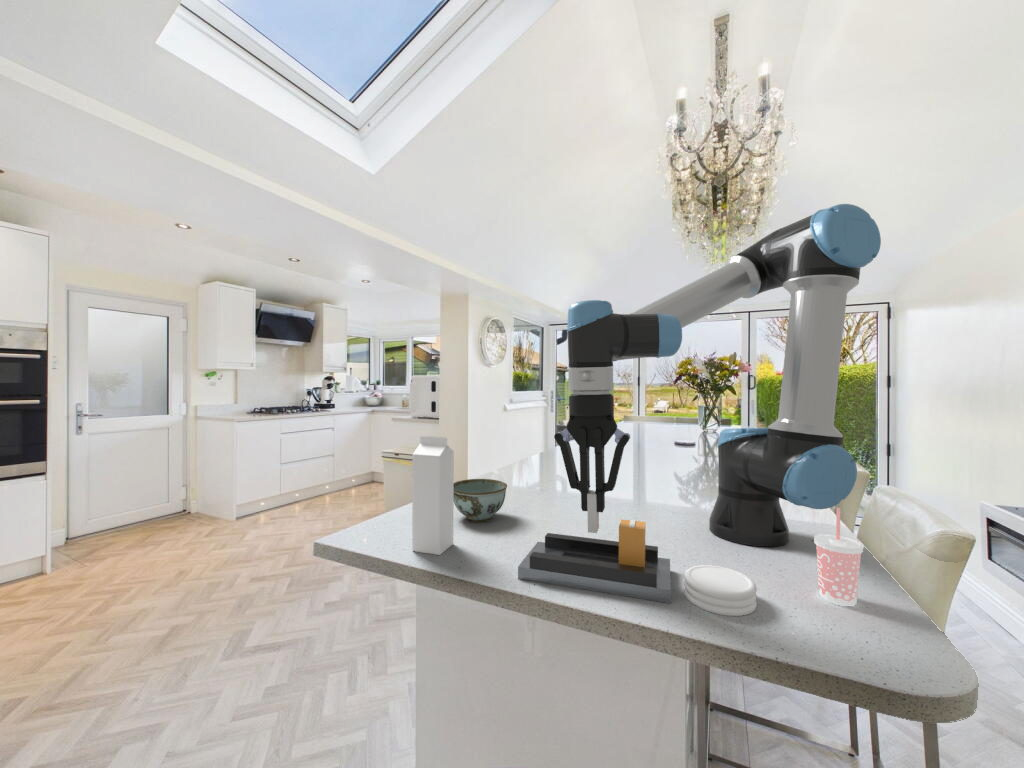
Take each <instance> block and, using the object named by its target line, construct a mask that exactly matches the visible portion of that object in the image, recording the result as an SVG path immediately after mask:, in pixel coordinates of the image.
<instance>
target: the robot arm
mask: <svg viewBox="0 0 1024 768" xmlns="http://www.w3.org/2000/svg"><path fill="white" fill-rule="evenodd" d="M881 240H882V239H881V233H880V229H879V227H878V224H877V222H876V221H875V219H874V218H872V216H871V215H870V214H869V213H868V211H866V210H864V208H862V207H860V206H857V205H855V204H850V203H839V204H836V205H833V206H830V207H828V208H823V209H822V208H821V209H818V211H815V212H814V213H813V214H811V215H809V216H807V217H805V218H801V219H800V220H798V221H795V222H792V223H791V224H788V225H786V226H783V227H781V228H778V229H776V230H775V231H772V232H771V233H768V234H767V235H766V236H764V237H763V238H761V239H760V240H758V241H757V242H755V243H753V244H752V245H750V246H749V247H747V248H745V249H744V250H743V251H740V252H739V253H737V254H735V255H733V256H730V258H728V259H727V260H726V262H725V265H724V266H721V267H720V268H718V269H716V270H714V271H712V272H710V273H708V274H706V275H704V276H702V277H700V278H698V279H696V280H694V281H693V282H690V283H688V284H685V285H684V286H682V287H681V288H679V289H677V290H674V291H673V292H671V293H669V294H667V295H664V296H662V297H660V298H659V299H657V300H654V301H653V302H651V303H649V304H647V305H645V306H643V307H640V308H639V309H637V310H635V311H633V312H632V313H631V312H630V313H629V314H628V313H627V314H623V313H622V314H620V313H615V312H614V310H613V307H612V306H613V305H612V303H611V302H610V301H608V300H601V299H591V300H590V299H589V300H582V301H581V300H580V301H576V302H574V303H572V304H570V306H569V307H568V309H567V310H568V311H567V325H566V326H567V328H566V332H567V353H568V355H567V356H568V369H567V370H568V375H567V376H568V390H569V391H570V392H571V394H570V395H569V396H568V411H569V412H568V414H569V415H568V416H569V417H568V421H567V423H566V428H564V429H563V430H561V431H558V432H557V433H555V434H554V437H553V438H554V440H555V441H556V443H557V444H558V446H559V448H560V452H561V456H562V460H563V464H564V468H565V471H566V475H567V478H568V483H569V486H570V489H574V490H577V491H579V492H580V501H581V502H580V506H581V507H580V508H581V510H582V511H583V512H587V533H591V534H598V531H599V529H600V514H599V513H603V512H604V510H605V507H606V505H605V504H606V499H605V498H606V497H605V496H606V495H605V494H606V493H607V492H612V491H614V489H615V487H616V483H617V479H618V475H619V470H620V467H621V463H622V458H623V454H624V448H625V447H626V445H627V443H628V442H629V440H630V439H631V434H630V433H627V432H624V431H622V430H621V429H619V428H618V424H617V422H616V420H615V414H614V413H615V412H614V410H615V409H614V408H615V405H614V404H615V403H614V402H615V401H614V395H613V394H612V393H611V391H613V390H614V362H617V361H624V360H632V359H643V358H656V359H660V358H666V357H667V358H668V357H672V356H675V355H676V353H678V351H679V349H680V347H681V345H682V342H683V328H685V327H687V326H689V325H690V324H692V323H695V322H697V321H698V320H700V319H702V318H704V317H707V316H708V315H710V314H712V313H714V312H716V311H719V310H720V309H723V308H724V307H725V306H727V305H730V304H731V303H734V302H735V301H737V300H739V299H742V298H743V299H751V298H753V297H755V296H757V295H759V294H761V293H764V292H767V291H770V290H774V289H778V288H784V290H786V291H787V292H788V293H789V294H790V301H789V311H788V320H787V328H786V329H787V330H786V340H785V350H784V359H783V368H782V369H783V370H782V378H781V386H780V387H781V388H780V395H779V398H780V399H779V407H778V415H777V419H776V420H775V421H774V422H772V423H771V424H769V425H768V426H767V427H744V428H739V427H738V428H736V427H735V428H724V429H722V430H720V432H719V436H718V444H717V448H718V471H717V472H718V483H717V484H718V486H717V487H718V489H717V490H718V491H717V492H718V494H717V497H716V501H715V503H714V506H713V508H712V511H711V513H710V517H709V519H708V520H709V526H708V527H709V531H710V532H711V533H712V534H713V535H715V536H717V537H719V538H722V539H723V540H727V541H729V542H732V543H733V542H734V543H738V544H743V545H747V546H748V545H749V546H755V547H779V546H783V544H784V545H786V544H788V543H787V542H789V541H790V533H789V532H790V530H789V529H790V528H789V526H788V524H787V521H786V518H785V514H784V512H783V509H782V506H781V503H780V499H781V500H784V501H787V502H789V503H791V504H793V505H795V506H799V507H800V506H801V507H802V506H803V507H805V508H809V509H811V510H825V509H830V508H834V507H836V506H837V505H839V504H840V503H841V502H842V500H843V501H844V500H845V499H847V497H848V496H849V495H850V494H851V493H852V491H853V488H854V487H855V485H856V482H857V476H858V468H857V463H856V461H855V460H854V459H853V455H852V454H851V453H850V452H849V451H848V450H846V448H844V447H843V440H844V435H843V433H841V431H839V429H837V428H836V426H835V413H836V403H837V396H838V395H837V394H838V384H839V374H840V365H841V357H842V354H841V353H842V347H843V346H842V345H843V337H844V327H845V318H846V317H845V316H846V305H847V299H848V298H847V297H848V293H849V292H850V291H851V290H853V289H855V288H856V287H857V286H858V285H859V284H860V275H861V269H862V268H864V267H866V266H867V265H868V264H870V263H872V262H873V261H874V259H876V258H877V256H878V254H879V253H880V250H881V244H882V241H881ZM613 436H615V438H614V442H615V444H616V446H615V447H614V452H613V457H612V463H611V466H610V470H609V474H608V479H607V482H606V479H605V477H606V475H605V474H606V473H605V469H606V468H605V446H606V445H607V444H608V443H609V441H610V440H611V438H612V437H613ZM571 437H572V438H573V440H574V441H575V442H576V444H577V445H578V452H579V474H578V470H577V467H576V463H575V460H574V455H573V451H572V448H571V444H570V443H571V442H570V439H571ZM590 448H594V449H593V450H594V451H593V453H594V463H595V464H594V466H595V467H594V468H595V469H594V470H595V473H594V475H595V476H594V477H595V489H594V490H592V489H590V488H591V483H590V481H591V480H590V479H591V476H590V475H591V474H590V473H591V472H590V470H591V469H590V467H591V466H590Z"/></svg>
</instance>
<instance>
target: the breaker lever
mask: <svg viewBox="0 0 1024 768" xmlns="http://www.w3.org/2000/svg"><path fill="white" fill-rule="evenodd" d="M618 542H619V564H624V565H631V566H638V567H645V545H646V521H641V520H635V519H621V518H620V522H619V524H618Z"/></svg>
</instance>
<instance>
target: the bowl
mask: <svg viewBox="0 0 1024 768" xmlns="http://www.w3.org/2000/svg"><path fill="white" fill-rule="evenodd" d="M507 487H508V484H507V483H506V482H505V481H501V480H497V479H491V478H470V479H462V480H458V481H454V495H453V505H454V506H455V508H456V509H457V511H459V513H460V514H462V515H463V516H465V518H466V520H467V519H468V520H467V521H469V522H472V521H474V522H475V523H483V522H489V521H490V520H492V518H493V516H494V515H495V514H496V513H497V512H498V511H500V509H502V506H503V505H504V503H505V499H506V494H507ZM474 522H473V523H474Z"/></svg>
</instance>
